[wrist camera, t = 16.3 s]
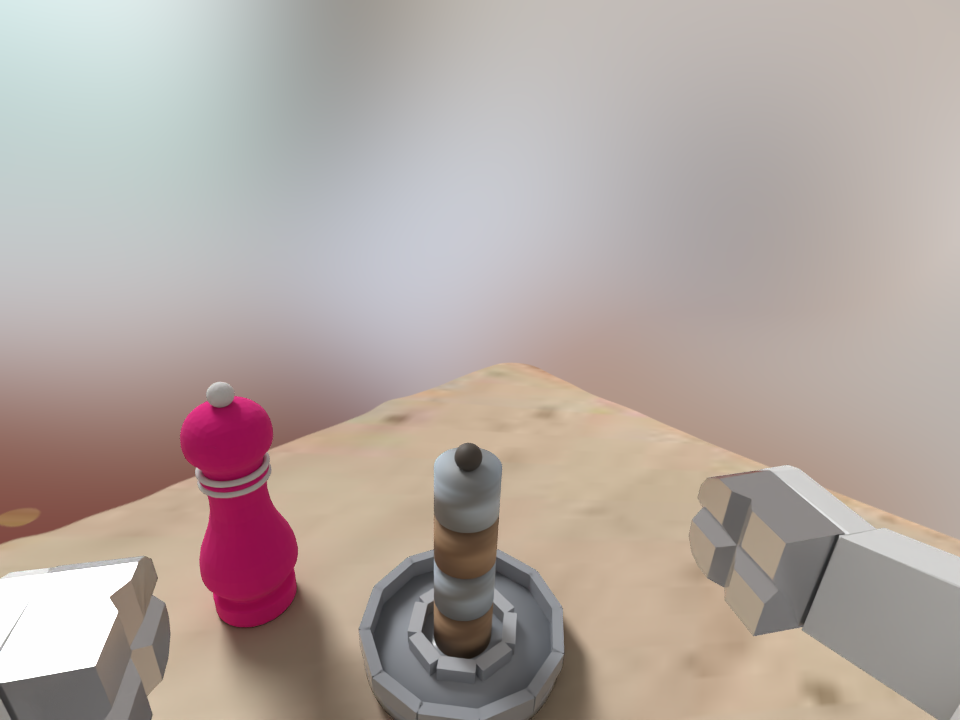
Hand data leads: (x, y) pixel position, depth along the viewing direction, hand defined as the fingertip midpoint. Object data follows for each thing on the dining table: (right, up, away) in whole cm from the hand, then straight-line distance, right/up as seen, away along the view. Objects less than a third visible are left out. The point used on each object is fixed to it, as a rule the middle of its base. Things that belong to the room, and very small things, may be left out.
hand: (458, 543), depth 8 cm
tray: (-1, -19, +35) cm, 40 cm away
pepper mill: (-18, -17, +38) cm, 45 cm away
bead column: (-1, -18, +34) cm, 39 cm away
